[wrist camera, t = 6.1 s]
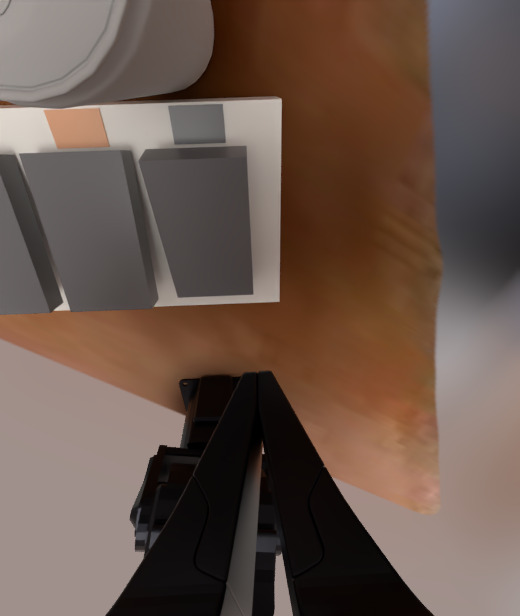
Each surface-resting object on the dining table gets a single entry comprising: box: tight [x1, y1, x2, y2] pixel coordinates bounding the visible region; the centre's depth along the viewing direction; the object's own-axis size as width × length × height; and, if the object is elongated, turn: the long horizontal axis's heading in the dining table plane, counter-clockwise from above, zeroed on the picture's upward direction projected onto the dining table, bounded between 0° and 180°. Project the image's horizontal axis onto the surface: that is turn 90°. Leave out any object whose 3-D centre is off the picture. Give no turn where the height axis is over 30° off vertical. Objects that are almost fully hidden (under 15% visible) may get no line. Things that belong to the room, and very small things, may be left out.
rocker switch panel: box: [0, 96, 282, 311], centre depth 17 cm, size 10×17×3 cm, turn 92°
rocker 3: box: [138, 146, 253, 298], centre depth 15 cm, size 7×4×1 cm, turn 2°
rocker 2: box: [19, 150, 159, 312], centre depth 14 cm, size 7×4×1 cm, turn 2°
